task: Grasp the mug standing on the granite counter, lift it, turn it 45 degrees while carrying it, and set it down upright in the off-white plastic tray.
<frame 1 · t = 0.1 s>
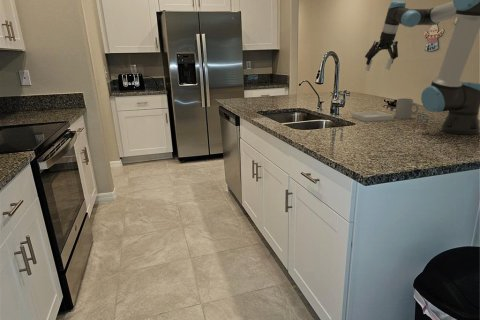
hand: (377, 69, 185), 28 cm above the worktop, tool tilted 20°, fingers open, 13 cm apart
mug: (405, 118, 186), on the worktop
tray: (371, 118, 186), on the worktop
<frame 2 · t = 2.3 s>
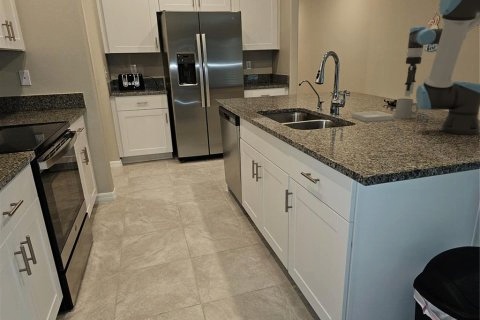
hand: (408, 95, 182), 13 cm above the worktop, tool pointing down, fingers open, 13 cm apart
nothing on the worktop moved.
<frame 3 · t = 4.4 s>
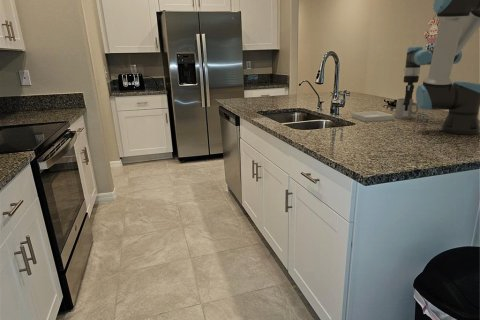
hand: (406, 114, 185), 2 cm above the worktop, tool pointing down, fingers closed on mug, 8 cm apart
mug: (405, 118, 185), on the worktop, touching gripper
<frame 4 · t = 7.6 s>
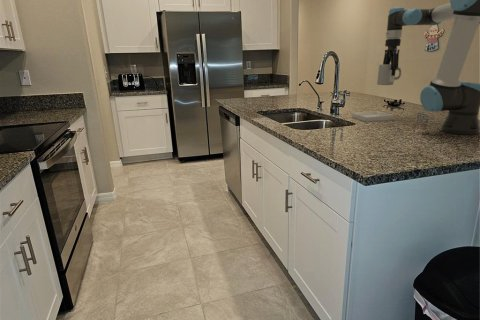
hand: (388, 81, 180), 22 cm above the worktop, tool pointing down, fingers closed on mug, 8 cm apart
mug: (388, 84, 180), point 20 cm above the worktop, touching gripper
when the fingers open (5 cm above the worktop, at t = 11.1 s): mug drops 2 cm, resting on tray.
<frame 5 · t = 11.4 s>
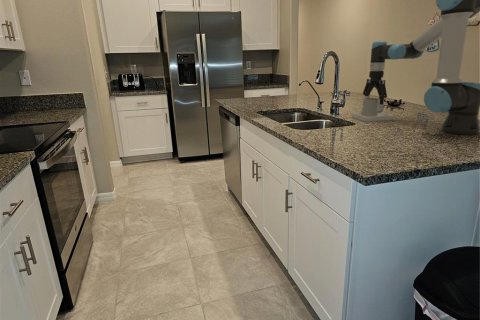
hand: (372, 108, 184), 6 cm above the worktop, tool pointing down, fingers open, 12 cm apart
mug: (372, 118, 186), point 1 cm above the worktop, touching tray
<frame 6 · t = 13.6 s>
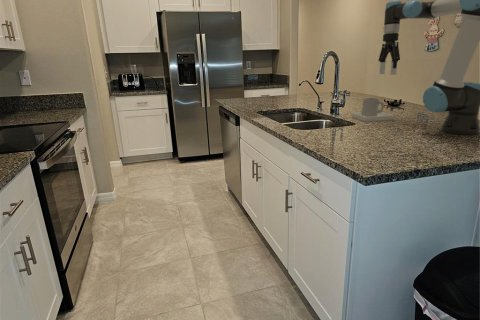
hand: (387, 74, 174), 26 cm above the worktop, tool pointing down, fingers open, 13 cm apart
nothing on the worktop moved.
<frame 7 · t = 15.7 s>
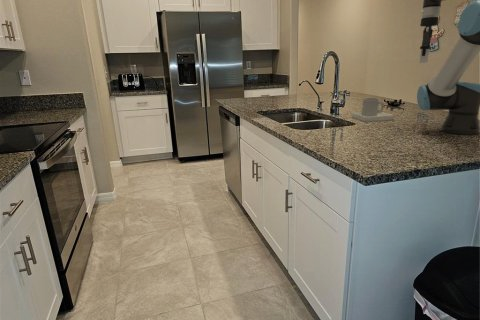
hand: (423, 62, 160), 32 cm above the worktop, tool pointing down, fingers open, 13 cm apart
nothing on the worktop moved.
at the end: mug inside the target area on the tray (0.1 cm from its centre), point 0.6 cm above the tray's base; mug tilted 0°; the gripper is holding nothing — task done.
